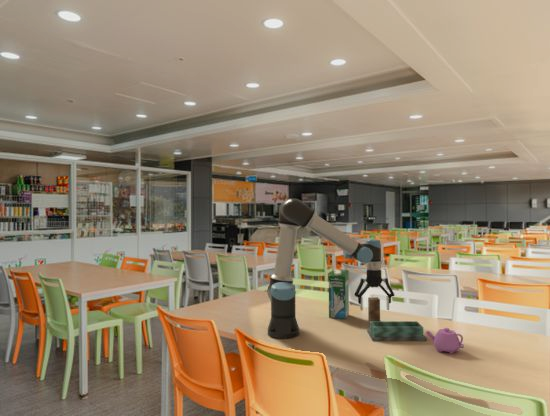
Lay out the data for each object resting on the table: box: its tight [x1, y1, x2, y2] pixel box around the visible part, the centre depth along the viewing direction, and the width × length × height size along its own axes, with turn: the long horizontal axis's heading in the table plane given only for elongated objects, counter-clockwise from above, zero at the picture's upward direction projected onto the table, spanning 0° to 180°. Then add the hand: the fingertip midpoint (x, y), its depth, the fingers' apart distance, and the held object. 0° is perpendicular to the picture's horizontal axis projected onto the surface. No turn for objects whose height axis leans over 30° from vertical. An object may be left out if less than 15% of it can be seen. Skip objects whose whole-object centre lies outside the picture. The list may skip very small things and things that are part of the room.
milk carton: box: [328, 268, 350, 320], centre depth 223 cm, size 9×9×25 cm
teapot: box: [425, 327, 465, 355], centre depth 171 cm, size 10×15×9 cm
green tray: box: [366, 320, 428, 342], centre depth 189 cm, size 24×12×6 cm, turn 88°
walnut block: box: [367, 296, 381, 323], centre depth 213 cm, size 5×5×12 cm
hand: (374, 309), depth 213 cm, fingers open, 13 cm apart
